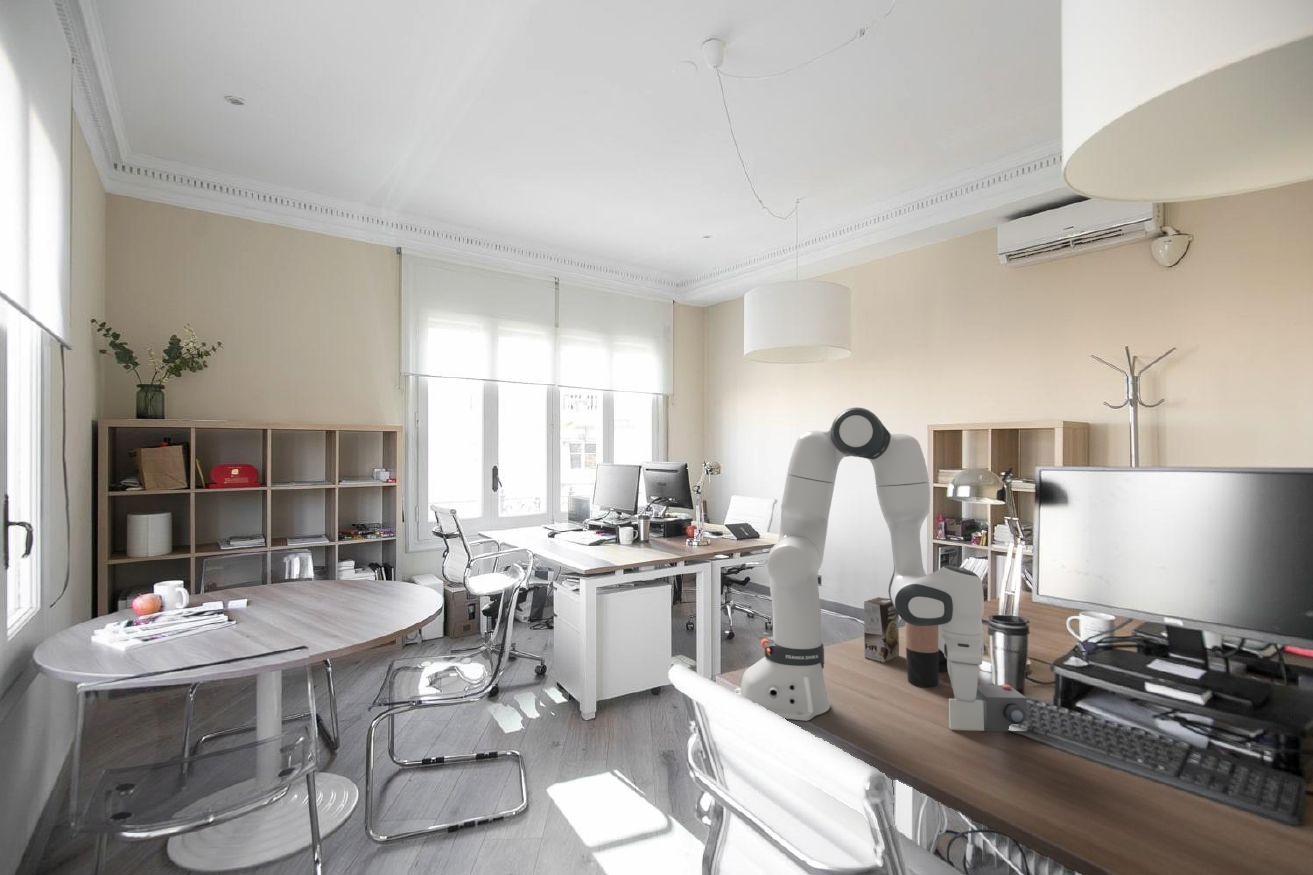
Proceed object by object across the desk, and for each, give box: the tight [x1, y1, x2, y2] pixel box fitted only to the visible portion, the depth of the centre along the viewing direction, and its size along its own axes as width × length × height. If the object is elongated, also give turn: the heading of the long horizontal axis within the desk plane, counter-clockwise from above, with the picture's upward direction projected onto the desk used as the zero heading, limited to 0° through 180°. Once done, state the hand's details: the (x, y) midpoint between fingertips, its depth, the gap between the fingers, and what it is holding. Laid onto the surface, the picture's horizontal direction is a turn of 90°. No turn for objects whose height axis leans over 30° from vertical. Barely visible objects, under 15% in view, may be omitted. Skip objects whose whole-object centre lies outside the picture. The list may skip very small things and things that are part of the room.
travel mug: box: [905, 622, 940, 689], centre depth 154 cm, size 8×8×20 cm
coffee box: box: [863, 596, 900, 663], centre depth 174 cm, size 9×6×16 cm
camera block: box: [975, 684, 1028, 733], centre depth 128 cm, size 8×9×8 cm
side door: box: [948, 698, 988, 732], centre depth 126 cm, size 1×7×6 cm, turn 81°
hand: (960, 707), depth 130 cm, fingers open, 2 cm apart
